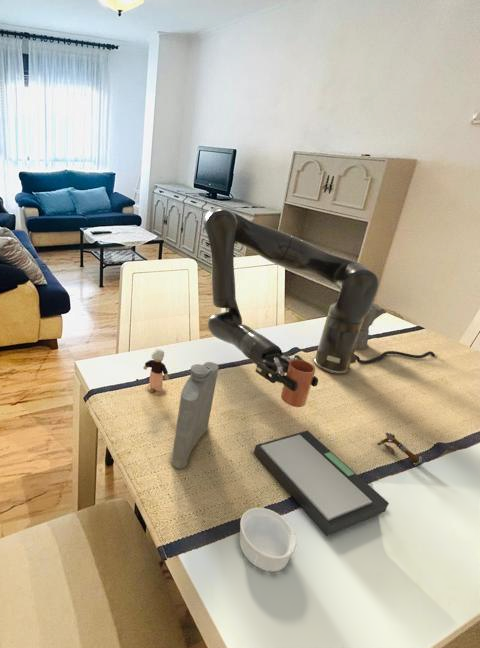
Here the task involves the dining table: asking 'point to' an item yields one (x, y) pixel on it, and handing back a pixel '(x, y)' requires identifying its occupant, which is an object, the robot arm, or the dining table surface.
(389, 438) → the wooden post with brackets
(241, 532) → the ramekin
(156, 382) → the grandmother figurine
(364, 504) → the scale
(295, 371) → the tumbler
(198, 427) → the hip flask
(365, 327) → the coffeepot
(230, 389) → the dining table surface
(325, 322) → the robot arm
